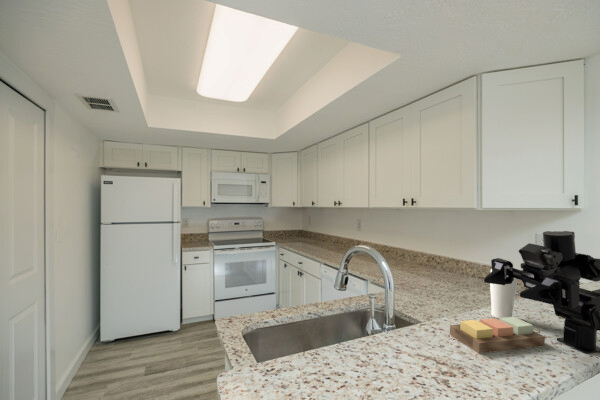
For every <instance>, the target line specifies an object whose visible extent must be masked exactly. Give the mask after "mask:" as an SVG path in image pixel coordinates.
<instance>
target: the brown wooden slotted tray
mask: <svg viewBox="0 0 600 400" xmlns="http://www.w3.org/2000/svg"><path fill="white" fill-rule="evenodd" d="M449 335H450V336H452V337H453V338H455V339H457V340H458V341H459V342H461V344H464V345H466V346H467V347H468V348H470V349H471V350H472V351H474V352H476V353H477V354H486V353H494V352H495V353H496V352H504V351H512V350H521V349H531V347H532V348H537V347H544V346H545V341H546V336H545V335H543V334H541V333H538V332H536V331H535V330H533V334H523V335H517V334H515V333H513V336H503V337H497V336H495V335H493V338H483V339H475V338H474V337H472V336H471V335H469V334H467V333H466V332H464V331H462V330H461V329H460V324H451V325H449Z"/></svg>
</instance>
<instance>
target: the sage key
mask: <svg viewBox="0 0 600 400" xmlns="http://www.w3.org/2000/svg"><path fill="white" fill-rule="evenodd" d="M499 320H500V321H502V322H504V323H506V324H508V325H510V326H512V327H513V333H515V334H517V335H523V334H533V331H534V325H533V324H531V323H528V322H526V321H524V320H522V319H520V318H517V317H515V316H512V317H505V318H500V319H499Z"/></svg>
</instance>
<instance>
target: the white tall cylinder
mask: <svg viewBox="0 0 600 400" xmlns="http://www.w3.org/2000/svg"><path fill="white" fill-rule="evenodd" d="M491 272H492V268H490V272H489V274H490V273H491ZM517 283H518V279H516V278H514V280H513V282H512V283H511V284H505V285H499V284H491V283H489V290H490V314H491V316H492V317H493V318H496V319H498V320H500V318H505V317H513V310H514V305H515V299H516V292H517V285H518V284H517Z"/></svg>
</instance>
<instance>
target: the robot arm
mask: <svg viewBox="0 0 600 400" xmlns="http://www.w3.org/2000/svg"><path fill="white" fill-rule="evenodd" d="M575 238H576V236H575V232H574V231H568V230H564V231H559V230H558V231H556V230H555V231H549V230H546V231H542V239H543V240H542V241H543V245H540V244H534V243H526V245H524V246H523V247H521V248H520V249H518V253H519V255H520V256H521V258H522V262H521V263H520V269H518V268H517V267H516V268H515V267H514V263H513V262H512V261H510V260H508V259H507V260H506V259H503V258H499V257H497V258H492V259H491V260H490V261H491V263H490V264H491V269H492V272H491V271H490V272H491V273H490V272H489V273H488V274H487V275H486V276H485V277H484V278H483V282H484V283H485V284H490V283H491V284H499V285H505V284H511V283H512V282H513V280H514V278H516V279H517V280H519V281H521V282H522V283H523V287H524V288H526V289H523V290H522V291H519V297H520V298H522V299H526V300H531V301H535V302H540V303H544V304H549V305H552V307H553V310H554V314H555V316H556V317H560V318H562V319H564V321H563V322H564V323H563V324H564V325H563V336H562V337H556V341H558V342H560V343H562V344H565V345H567V346H569V347H571V348H573V349H574V350H575V349H576V351H577V350H578V351H580V352H582V353H584V354H594V353H600V346H597V340H598V339H597V338H598V337H597V336H598V331H599V332H600V288H598V289H595V290H589V289H585V288H583V287H580V283H581V281H580V280H581V279H583V280H587V281H592V282H600V258H595V257H593V256H591V255H590V254H585V253H578V252H576V244H575V243H576V242H575Z"/></svg>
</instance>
